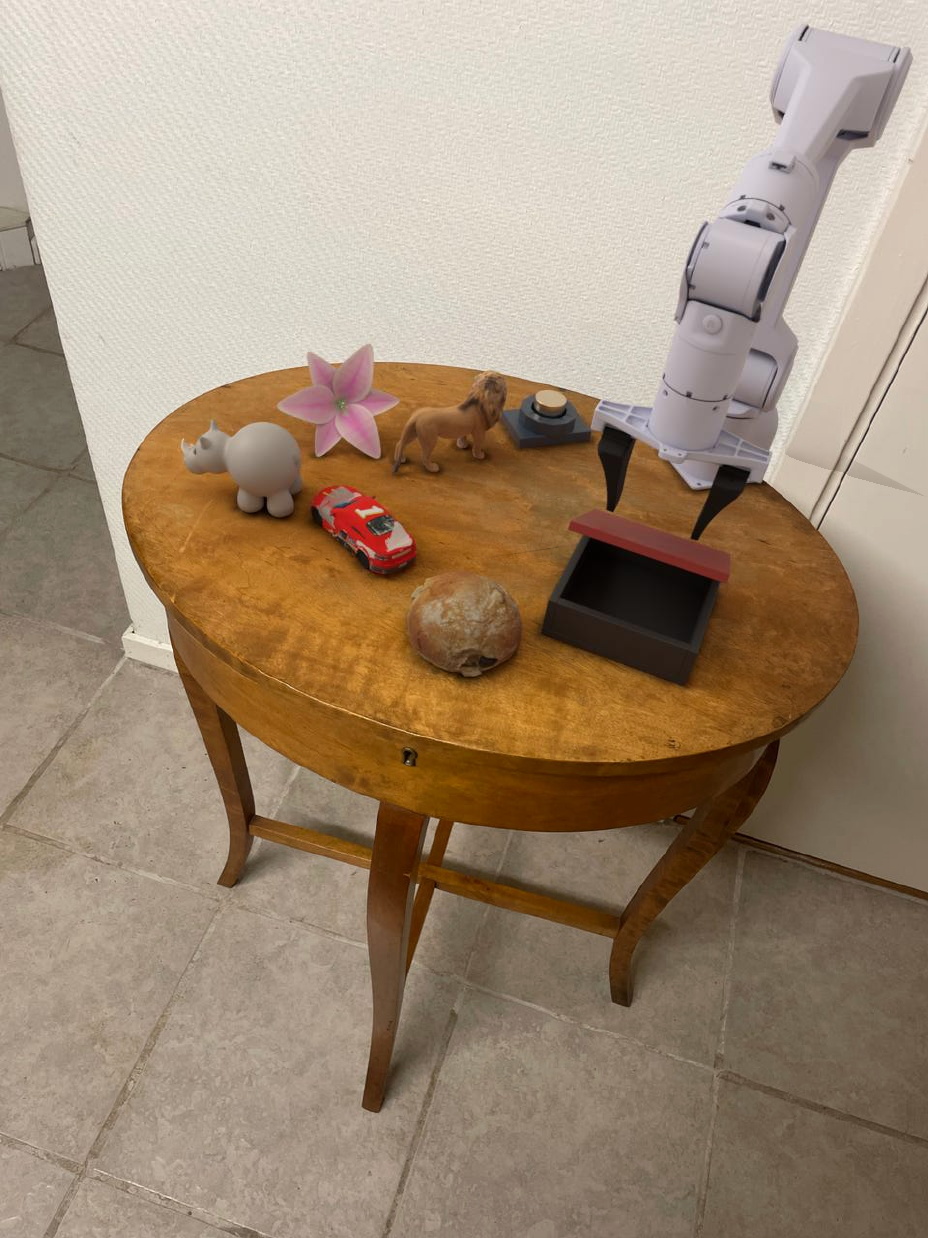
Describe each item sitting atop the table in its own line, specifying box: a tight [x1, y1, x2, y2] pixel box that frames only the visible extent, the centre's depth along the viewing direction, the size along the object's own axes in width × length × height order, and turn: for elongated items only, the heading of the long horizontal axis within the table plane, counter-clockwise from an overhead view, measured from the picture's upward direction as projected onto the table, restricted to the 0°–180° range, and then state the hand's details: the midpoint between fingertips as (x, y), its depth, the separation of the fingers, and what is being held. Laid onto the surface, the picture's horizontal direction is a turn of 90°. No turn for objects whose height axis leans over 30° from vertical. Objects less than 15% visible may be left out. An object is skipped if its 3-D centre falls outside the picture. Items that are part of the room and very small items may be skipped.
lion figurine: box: [390, 369, 508, 474], centre depth 99 cm, size 15×5×9 cm, turn 129°
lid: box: [567, 508, 731, 584], centre depth 82 cm, size 14×14×1 cm
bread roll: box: [406, 570, 523, 678], centre depth 81 cm, size 10×10×8 cm
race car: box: [310, 485, 418, 575], centre depth 89 cm, size 13×5×4 cm, turn 39°
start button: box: [533, 389, 568, 419], centre depth 105 cm, size 4×4×2 cm
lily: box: [276, 343, 401, 460], centre depth 100 cm, size 12×12×10 cm
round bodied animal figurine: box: [180, 419, 303, 518], centre depth 90 cm, size 7×12×8 cm, turn 80°
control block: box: [500, 393, 592, 449], centre depth 107 cm, size 9×6×3 cm
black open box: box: [540, 534, 722, 687], centre depth 85 cm, size 14×14×4 cm
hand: (654, 519), depth 81 cm, fingers open, 7 cm apart
